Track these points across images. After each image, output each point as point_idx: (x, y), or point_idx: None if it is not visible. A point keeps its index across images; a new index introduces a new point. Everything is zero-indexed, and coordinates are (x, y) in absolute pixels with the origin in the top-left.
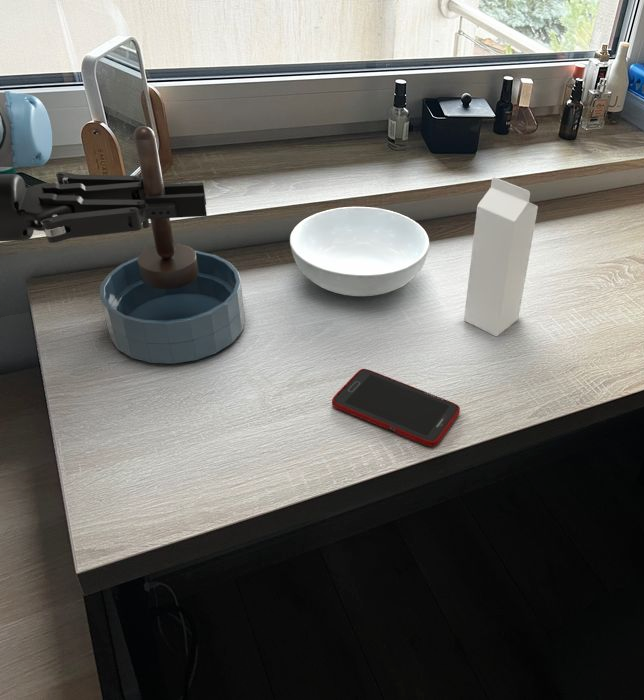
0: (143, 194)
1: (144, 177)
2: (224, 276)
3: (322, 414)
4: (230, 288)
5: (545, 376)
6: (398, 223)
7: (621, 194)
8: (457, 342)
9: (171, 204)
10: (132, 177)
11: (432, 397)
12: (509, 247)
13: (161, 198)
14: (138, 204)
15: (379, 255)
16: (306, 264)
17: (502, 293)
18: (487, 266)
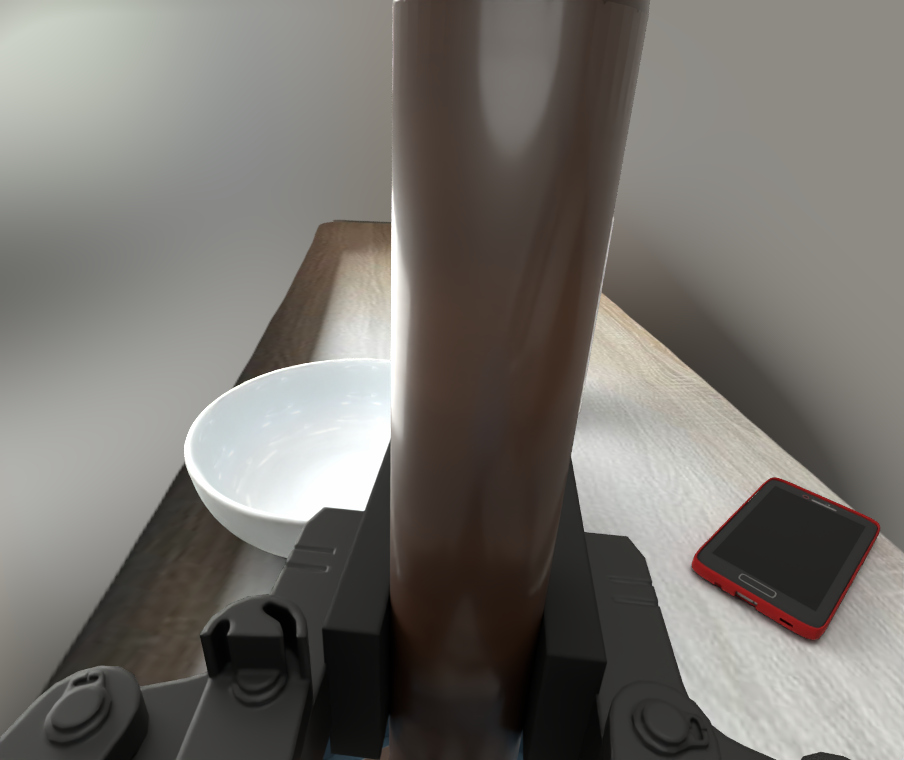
0: (317, 733)
1: (546, 503)
2: (329, 746)
3: (842, 668)
4: (384, 747)
5: (667, 403)
6: (299, 383)
7: (307, 274)
8: (589, 446)
9: (609, 547)
10: (44, 750)
11: (760, 496)
12: (605, 264)
13: (588, 564)
14: (717, 740)
15: (319, 452)
16: None
17: (591, 342)
18: None
